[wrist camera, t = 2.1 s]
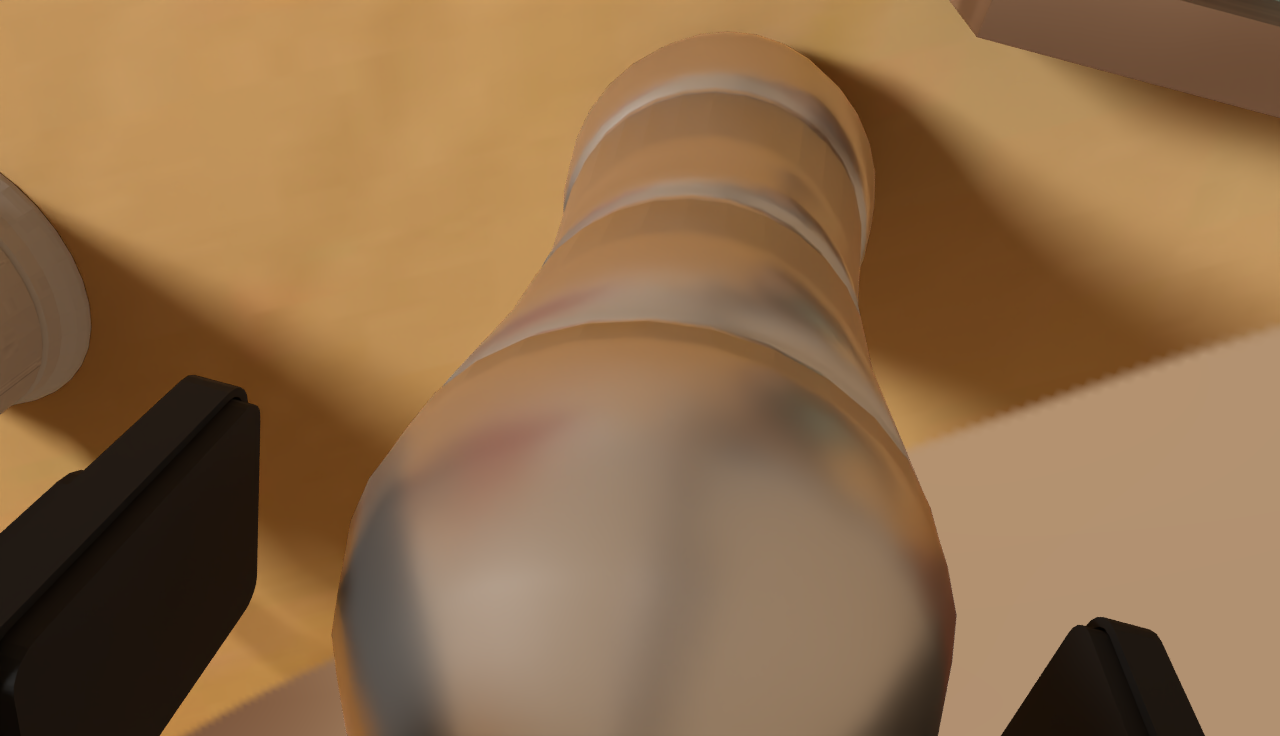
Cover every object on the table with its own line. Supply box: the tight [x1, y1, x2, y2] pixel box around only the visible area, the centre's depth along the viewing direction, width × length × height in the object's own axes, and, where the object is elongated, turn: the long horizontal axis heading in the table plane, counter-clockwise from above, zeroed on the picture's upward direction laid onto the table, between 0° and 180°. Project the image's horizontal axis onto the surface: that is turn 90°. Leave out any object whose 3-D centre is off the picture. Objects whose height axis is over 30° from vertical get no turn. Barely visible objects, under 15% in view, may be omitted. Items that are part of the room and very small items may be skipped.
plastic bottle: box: [332, 31, 956, 736], centre depth 14 cm, size 6×7×20 cm
